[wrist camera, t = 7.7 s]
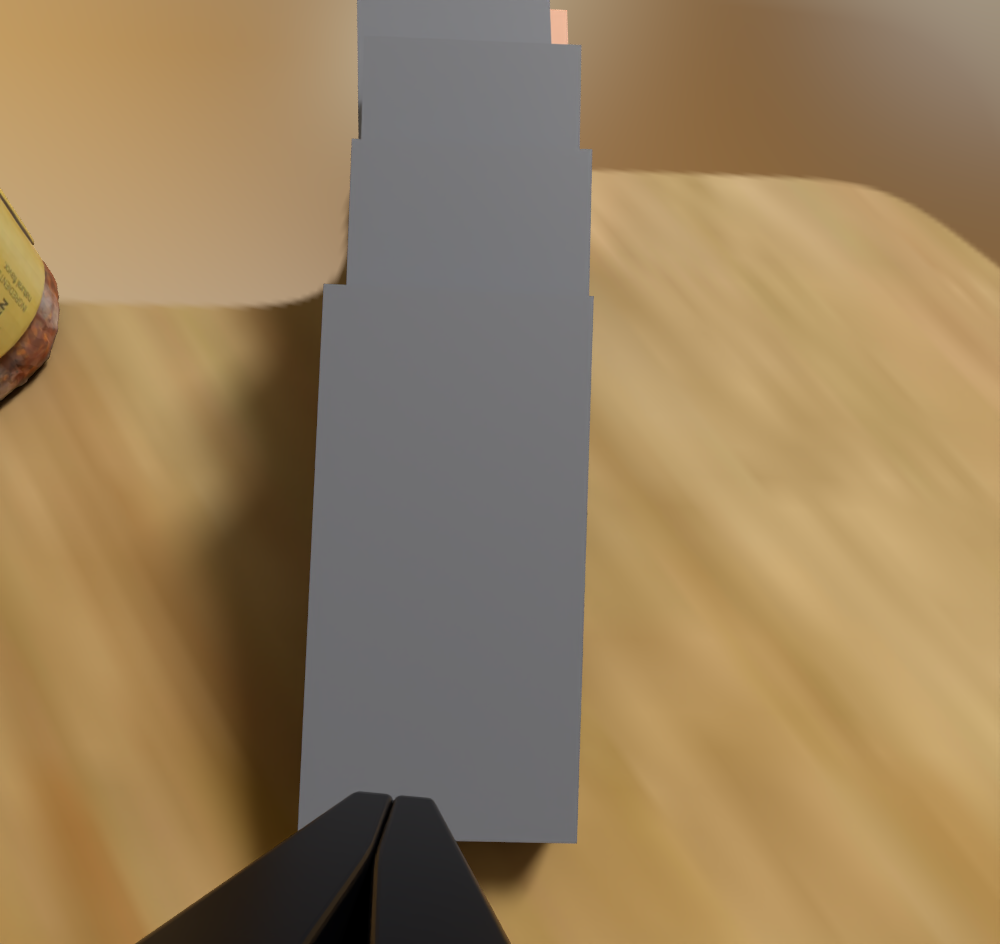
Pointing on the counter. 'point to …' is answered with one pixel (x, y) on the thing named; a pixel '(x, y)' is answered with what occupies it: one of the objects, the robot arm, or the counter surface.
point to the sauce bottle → (23, 303)
